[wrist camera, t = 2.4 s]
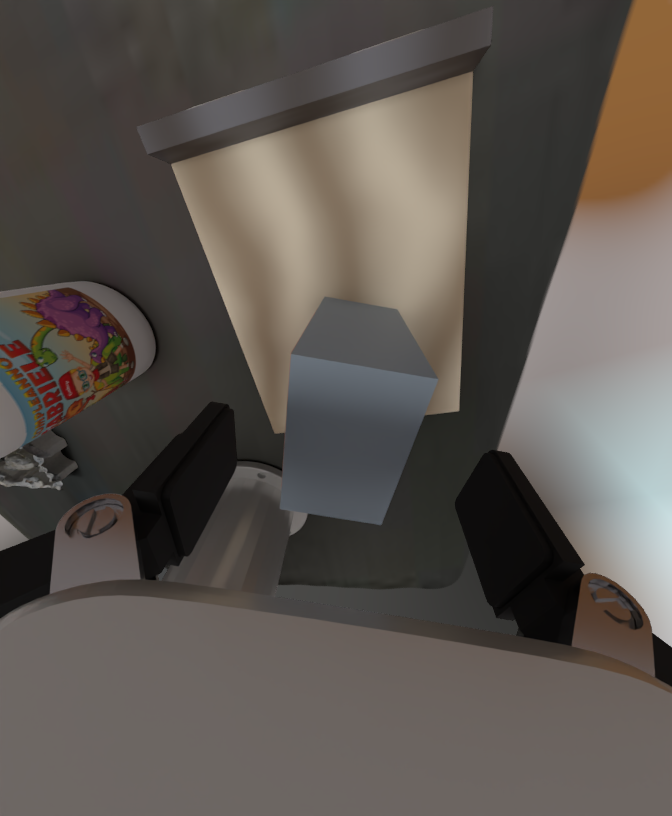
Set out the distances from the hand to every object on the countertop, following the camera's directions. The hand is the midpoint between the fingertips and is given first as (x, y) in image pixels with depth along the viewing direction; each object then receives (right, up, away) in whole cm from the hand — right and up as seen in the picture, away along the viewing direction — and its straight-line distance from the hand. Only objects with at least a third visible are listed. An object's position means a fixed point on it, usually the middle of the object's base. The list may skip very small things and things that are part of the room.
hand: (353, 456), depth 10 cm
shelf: (0, +10, +9) cm, 14 cm away
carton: (0, +6, +10) cm, 12 cm away
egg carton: (-35, -2, +20) cm, 40 cm away
